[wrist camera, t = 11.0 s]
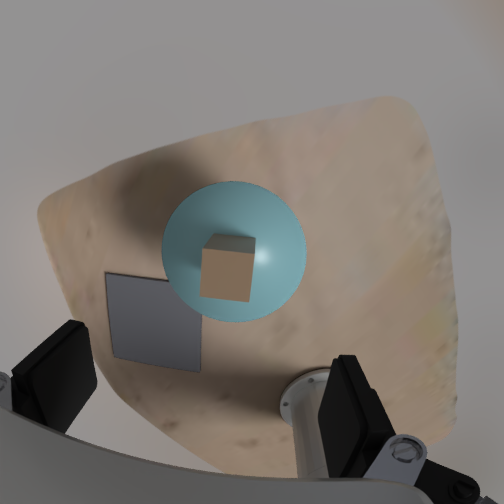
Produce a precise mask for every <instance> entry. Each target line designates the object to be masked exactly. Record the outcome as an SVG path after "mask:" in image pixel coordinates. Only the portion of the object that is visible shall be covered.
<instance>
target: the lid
mask: <svg viewBox="0 0 504 504" xmlns="http://www.w3.org/2000/svg"><path fill="white" fill-rule="evenodd" d="M162 260H163V266H164V270H165V273H166V276H167V278H168V280H169V282H170V284H171V286H172V287H173V289H174V291H175V292H176V293H177V294H178V296H179V297H180V298H181V299H182V300H183V301H184V302H185V303H186V304H187V305H188V306H190V307H191V308H192V309H194V310H195V311H197V312H199V313H200V314H203V315H205V316H207V317H209V318H213V319H216V320H220V321H225V322H246V321H251V320H255V319H258V318H262V317H264V316H266V315H268V314H270V313H272V312H274V311H275V310H277V309H278V308H279V307H281V306H282V305H283V304H284V303H285V302H286V301H287V300H288V299H289V298H290V297H291V296H292V294H293V293H294V292H295V290H296V289H297V287H298V285H299V283H300V281H301V279H302V276H303V273H304V269H305V265H306V242H305V237H304V234H303V231H302V228H301V225H300V223H299V221H298V219H297V218H296V216H295V215H294V213H293V212H292V210H291V209H290V208H289V207H288V206H287V205H286V203H285V202H284V201H283V200H281V199H280V198H279V197H278V196H277V195H275V194H274V193H272V192H270V191H269V190H267V189H265V188H263V187H260V186H258V185H254V184H251V183H246V182H238V181H228V182H220V183H216V184H212V185H209V186H206V187H204V188H201V189H199V190H198V191H196V192H194V193H192V194H191V195H190V196H188V197H187V198H186V199H185V200H184V201H183V202H182V203H181V204H180V205H179V206H178V207H177V208H176V210H175V211H174V212H173V214H172V215H171V217H170V219H169V221H168V223H167V226H166V228H165V231H164V235H163V240H162Z"/></svg>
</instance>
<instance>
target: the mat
mask: <svg viewBox="0 0 504 504" xmlns="http://www.w3.org/2000/svg"><path fill="white" fill-rule="evenodd" d="M106 283H107V297H108V309H109V319H110V328H111V336H112V344H113V352H114V357H116V358H121V359H125V360H130V361H135V362H140V363H145V364H150V365H156V366H162V367H167V368H173V369H180V370H186V371H193V372H200V370H201V326H202V314H200V313H199V312H197V311H195V310H194V309H192V308H191V307H190V306H188V305H187V304H186V303H185V302H184V301H183V300H182V299H181V298H180V297H179V296H178V294H177V293H176V292H175V291H174V289H173V287H172V286H171V284H170V282H169V281H166V280H158V279H150V278H143V277H135V276H128V275H120V274H113V273H107V274H106Z"/></svg>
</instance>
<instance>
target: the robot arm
mask: <svg viewBox="0 0 504 504" xmlns="http://www.w3.org/2000/svg"><path fill="white" fill-rule="evenodd" d="M11 371H12V374H13V376H12V377H11V378H10V377H9V376H8V375H7V374H6V373H3V372H0V504H498V503H496V502H495V501H493V500H492V499H491V498H489V497H488V496H485V497H484V498H482V497H481V496H480V488H479V485H478V484H477V482H476V481H475V480H474V479H473V478H471V477H469V476H467V475H464V474H462V473H459V472H457V471H454V470H452V469H449V468H447V467H444V466H442V465H439V464H437V463H435V462H433V461H430V460H428V459H426V457H427V449H426V446H425V445H424V443H423V442H422V441H421V440H419V439H418V438H416V437H414V436H411V435H407V434H400V435H396V433H395V431H394V429H393V427H392V425H391V422H390V420H389V418H388V416H387V414H386V412H385V409H384V407H383V405H382V403H381V401H380V399H379V397H378V395H377V392H376V391H375V389H372V388H370V385H369V383H368V381H367V379H366V377H365V375H364V373H363V371H362V368H361V366H360V364H359V362H358V360H357V358H356V356H355V355H339V357H338V359H337V358H334V359H333V362H332V365H331V369H320V370H315V371H312V372H309V373H306V374H304V375H302V376H300V377H299V378H297V379H295V380H294V381H293V382H292V383H290V384H289V385H288V386H287V388H286V389H285V390H284V392H283V394H282V395H281V399H280V413H281V415H282V418H283V419H284V420H285V422H286V423H287V424H289V425H290V426H291V427H293V436H294V445H295V455H296V464H297V474H298V478H275V477H256V476H243V475H232V474H223V473H215V472H208V471H201V470H195V469H189V468H183V467H178V466H173V465H167V464H163V463H158V462H154V461H149V460H146V459H141V458H138V457H133V456H130V455H126V454H123V453H119V452H116V451H112V450H109V449H106V448H103V447H100V446H97V445H93V444H91V443H88V442H84V441H82V440H79V439H77V438H74V437H71V436H69V435H66V434H65V432H66V431H67V429H68V428H69V427H70V425H71V424H72V422H73V420H74V419H75V418H76V416H77V415H78V413H79V412H80V410H81V409H82V408H83V406H84V405H85V403H86V402H87V400H88V399H89V398H90V396H91V395H92V393H93V392H94V391H95V389H96V387H97V377H96V372H95V368H94V362H93V357H92V351H91V345H90V338H89V332H88V328H87V327H86V326H85V324H84V323H83V322H80V321H76V320H68V321H67V322H66V323H65V324H64V325H62V326H61V327H60V328H59V329H58V330H56V331H55V332H54V333H53V334H52V335H51V336H49V337H48V338H47V339H46V340H45V341H44V342H42V343H41V344H40V345H39V346H38V347H37V348H36V349H34V350H33V351H32V352H31V353H30V354H29V355H28V356H27V357H25V358H24V359H23V360H22V361H21V362H20V363H19V364H18V365H16V366H15V367H14V368H13V369H12V370H11Z"/></svg>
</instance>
